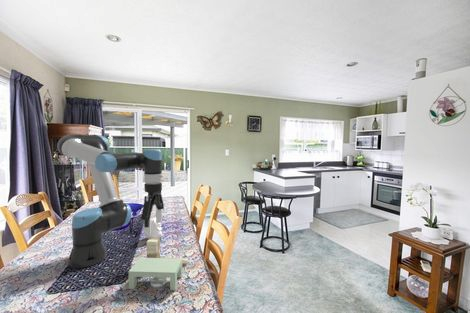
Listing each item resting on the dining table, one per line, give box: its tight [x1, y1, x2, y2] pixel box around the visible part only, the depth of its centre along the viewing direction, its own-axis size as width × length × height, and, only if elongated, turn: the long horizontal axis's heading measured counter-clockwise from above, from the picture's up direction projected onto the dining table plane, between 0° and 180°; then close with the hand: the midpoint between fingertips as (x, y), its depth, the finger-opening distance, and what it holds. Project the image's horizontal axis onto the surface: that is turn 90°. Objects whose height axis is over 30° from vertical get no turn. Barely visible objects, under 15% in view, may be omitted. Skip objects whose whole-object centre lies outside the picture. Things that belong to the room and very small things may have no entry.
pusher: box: [146, 237, 189, 267], centre depth 102 cm, size 4×18×11 cm, turn 88°
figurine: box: [144, 217, 164, 240], centre depth 128 cm, size 10×10×12 cm
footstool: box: [128, 257, 183, 291], centre depth 88 cm, size 18×10×7 cm, turn 88°
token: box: [150, 277, 167, 289], centre depth 88 cm, size 6×6×2 cm
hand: (153, 227), depth 102 cm, fingers open, 13 cm apart
